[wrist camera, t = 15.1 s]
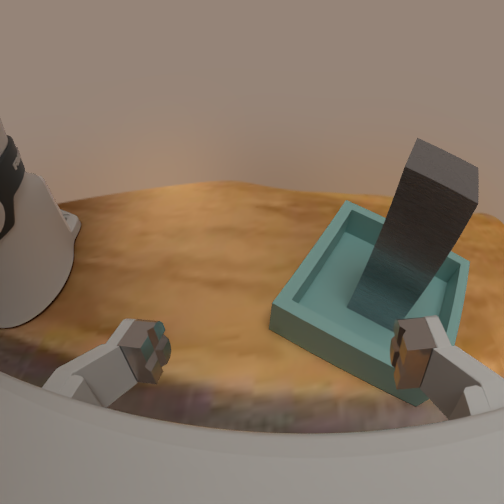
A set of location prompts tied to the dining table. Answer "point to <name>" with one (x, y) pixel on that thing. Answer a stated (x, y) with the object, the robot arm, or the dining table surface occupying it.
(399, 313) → the brushed steel pillar
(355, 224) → the tray
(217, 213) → the dining table surface
